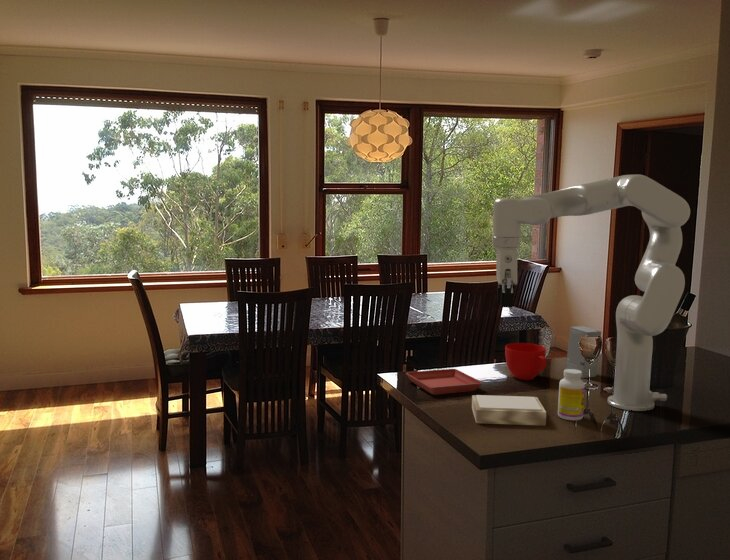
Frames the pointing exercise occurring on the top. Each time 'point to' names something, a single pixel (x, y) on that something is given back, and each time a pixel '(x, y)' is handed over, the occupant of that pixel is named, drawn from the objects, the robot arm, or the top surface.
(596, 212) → the robot arm
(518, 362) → the ceramic cup
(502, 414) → the birch base
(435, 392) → the plant saucer
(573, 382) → the supplement bottle
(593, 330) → the skincare box
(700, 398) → the top surface
